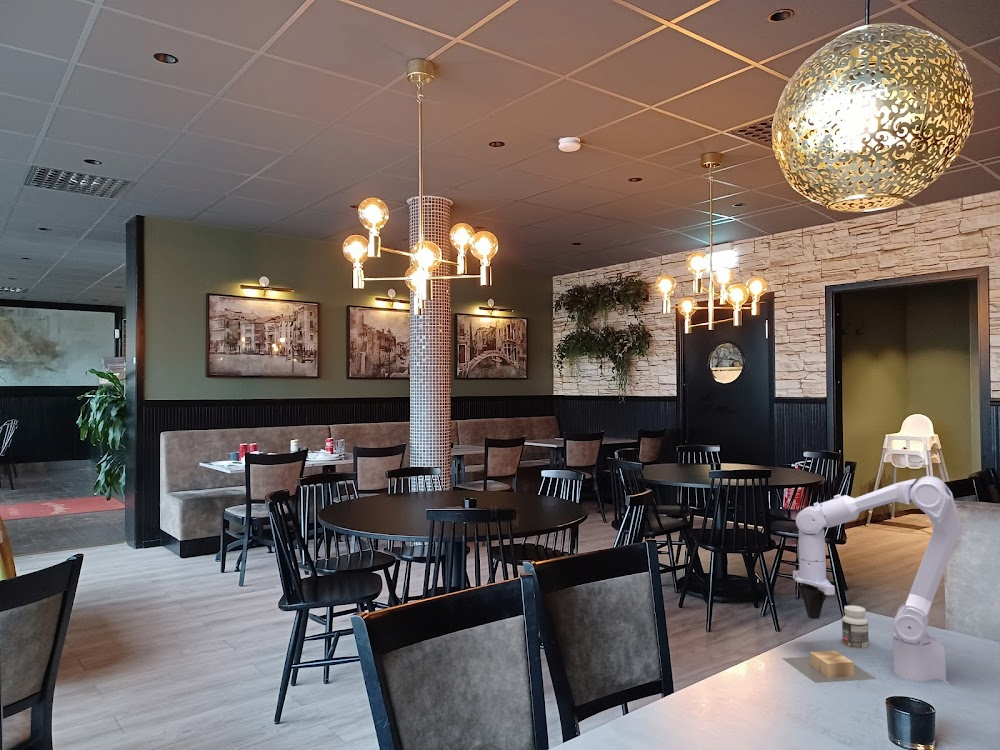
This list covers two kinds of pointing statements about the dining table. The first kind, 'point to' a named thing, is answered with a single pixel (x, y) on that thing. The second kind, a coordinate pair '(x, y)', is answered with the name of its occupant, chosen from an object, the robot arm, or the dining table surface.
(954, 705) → the dining table surface
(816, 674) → the board
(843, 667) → the block
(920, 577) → the robot arm
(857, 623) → the pill bottle
